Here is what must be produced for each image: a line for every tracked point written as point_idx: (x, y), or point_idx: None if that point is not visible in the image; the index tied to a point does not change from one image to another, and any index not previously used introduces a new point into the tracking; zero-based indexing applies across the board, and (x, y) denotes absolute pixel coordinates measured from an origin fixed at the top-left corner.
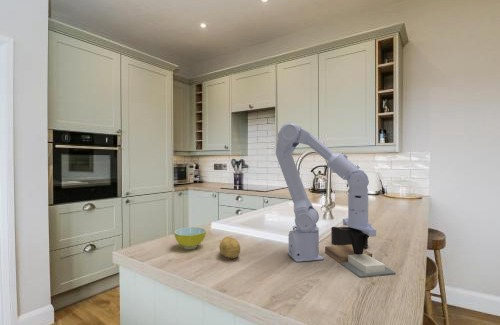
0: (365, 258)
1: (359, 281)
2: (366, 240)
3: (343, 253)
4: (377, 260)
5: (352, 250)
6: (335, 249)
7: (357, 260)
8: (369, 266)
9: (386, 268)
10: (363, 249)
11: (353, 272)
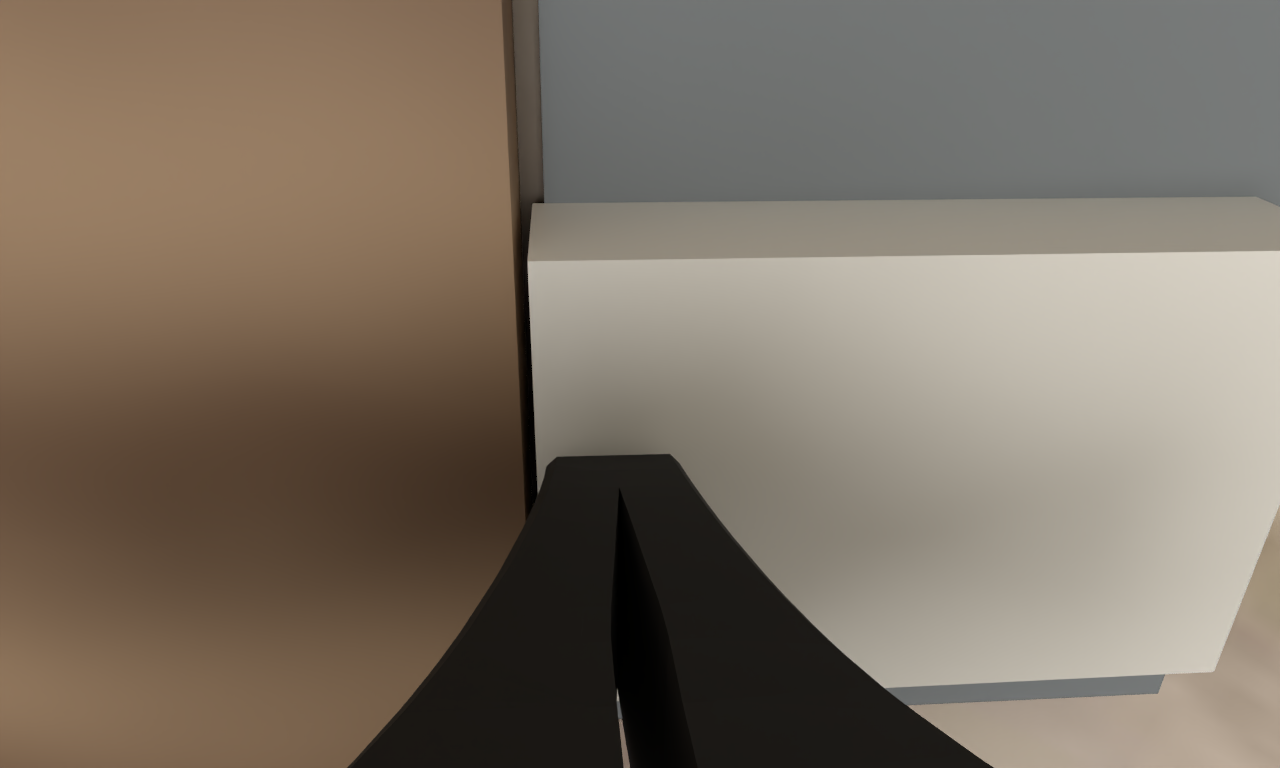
0: (863, 463)
1: (1222, 726)
2: (934, 742)
3: (338, 684)
4: (1091, 255)
5: (103, 392)
6: (28, 732)
7: (899, 670)
8: (1236, 603)
9: (1155, 35)
10: (715, 518)
11: (973, 691)
